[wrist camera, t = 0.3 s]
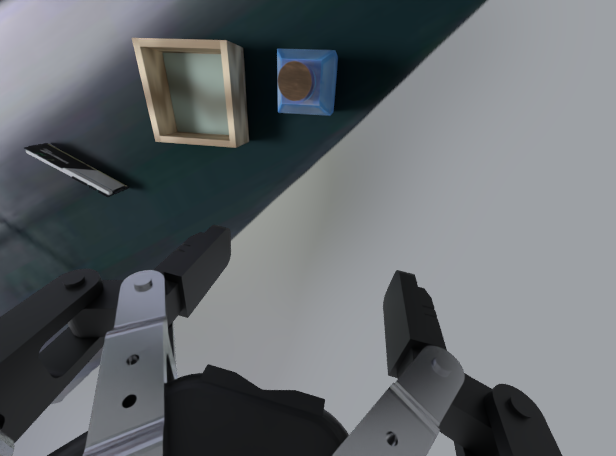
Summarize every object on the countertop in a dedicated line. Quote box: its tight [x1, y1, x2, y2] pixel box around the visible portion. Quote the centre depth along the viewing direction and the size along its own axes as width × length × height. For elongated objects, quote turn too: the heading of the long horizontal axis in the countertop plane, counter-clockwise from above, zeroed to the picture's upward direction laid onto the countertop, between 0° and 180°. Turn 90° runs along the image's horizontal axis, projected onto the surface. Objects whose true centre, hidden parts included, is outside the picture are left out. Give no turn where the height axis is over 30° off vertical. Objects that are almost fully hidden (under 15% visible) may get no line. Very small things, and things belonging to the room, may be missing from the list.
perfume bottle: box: [277, 49, 338, 115], centre depth 28 cm, size 6×6×12 cm
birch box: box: [132, 38, 249, 147], centre depth 34 cm, size 12×12×5 cm
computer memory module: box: [24, 143, 129, 197], centre depth 43 cm, size 15×1×4 cm, turn 61°
